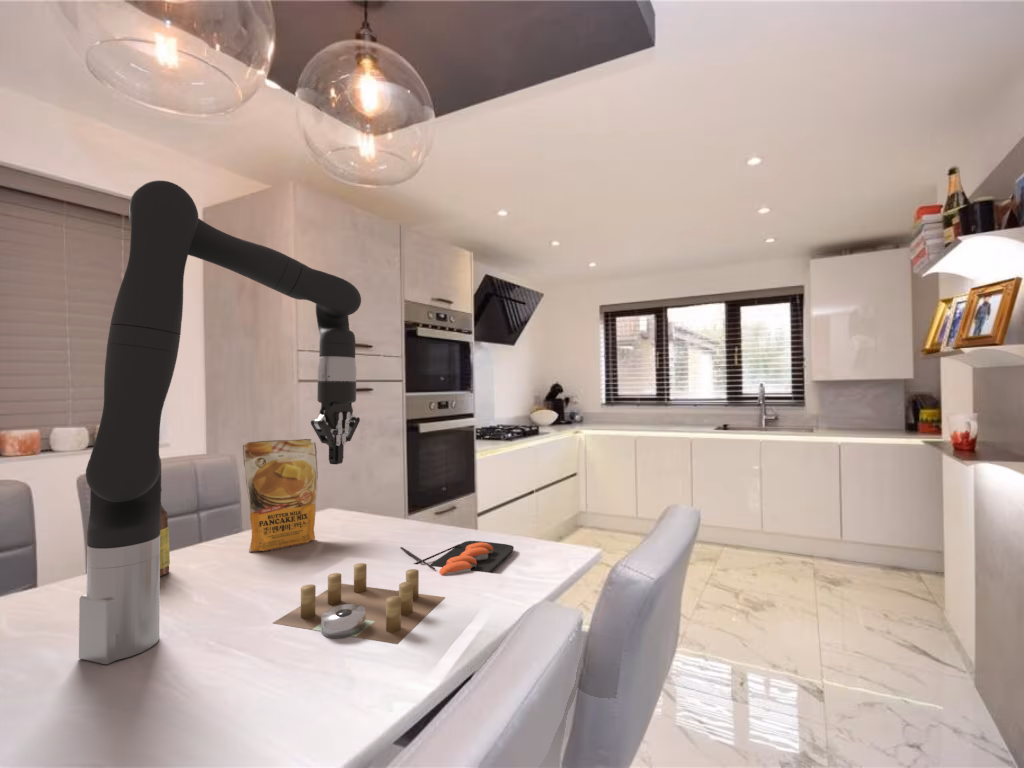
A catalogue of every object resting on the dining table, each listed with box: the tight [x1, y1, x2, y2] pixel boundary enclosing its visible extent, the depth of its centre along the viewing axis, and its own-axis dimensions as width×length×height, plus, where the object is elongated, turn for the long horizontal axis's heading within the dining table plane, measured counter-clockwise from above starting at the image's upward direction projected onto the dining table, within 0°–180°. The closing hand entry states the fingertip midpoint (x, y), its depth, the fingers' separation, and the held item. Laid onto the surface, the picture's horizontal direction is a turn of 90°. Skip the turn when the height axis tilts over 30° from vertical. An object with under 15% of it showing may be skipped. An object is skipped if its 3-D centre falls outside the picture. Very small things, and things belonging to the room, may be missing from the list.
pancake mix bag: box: [242, 438, 319, 552], centre depth 130 cm, size 7×19×28 cm, turn 129°
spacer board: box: [272, 562, 446, 645], centre depth 89 cm, size 18×24×6 cm
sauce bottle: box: [160, 489, 171, 577], centre depth 109 cm, size 7×6×20 cm
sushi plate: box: [399, 540, 514, 576], centre depth 117 cm, size 29×30×4 cm
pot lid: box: [320, 604, 366, 639], centre depth 82 cm, size 7×7×3 cm
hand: (336, 463), depth 100 cm, fingers closed
